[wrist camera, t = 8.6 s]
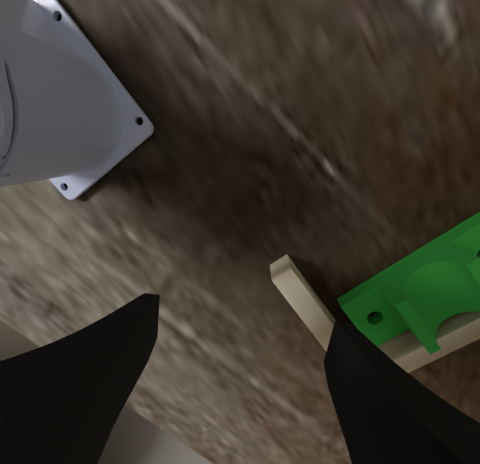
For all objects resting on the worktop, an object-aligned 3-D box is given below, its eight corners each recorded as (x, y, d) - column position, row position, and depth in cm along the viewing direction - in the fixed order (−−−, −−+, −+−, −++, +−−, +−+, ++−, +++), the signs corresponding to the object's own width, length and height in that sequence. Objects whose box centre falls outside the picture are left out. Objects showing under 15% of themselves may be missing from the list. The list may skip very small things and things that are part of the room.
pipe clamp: (531, 225, 15) (564, 286, 16) (478, 210, 19) (508, 260, 20) (351, 330, 18) (389, 377, 19) (335, 299, 21) (367, 340, 22)
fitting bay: (264, 268, 21) (265, 284, 18) (544, 89, 16) (593, 80, 14) (344, 372, 23) (354, 398, 21) (606, 240, 19) (656, 254, 17)
